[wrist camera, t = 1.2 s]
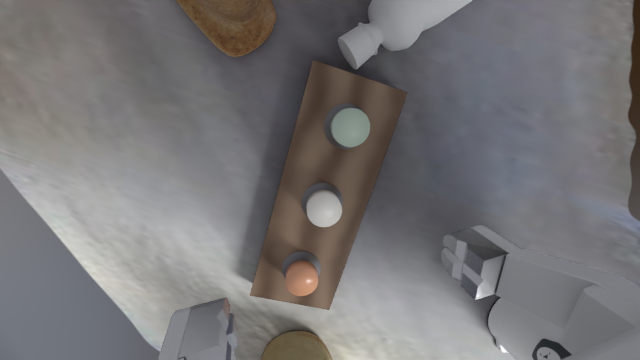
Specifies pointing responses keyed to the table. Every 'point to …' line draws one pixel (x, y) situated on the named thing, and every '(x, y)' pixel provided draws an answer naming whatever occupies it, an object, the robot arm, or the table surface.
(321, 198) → the button cream
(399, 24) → the bottle
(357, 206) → the button panel
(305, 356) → the ceramic vessel
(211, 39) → the stone cup
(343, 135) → the button sage
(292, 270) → the button terracotta
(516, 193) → the table surface
